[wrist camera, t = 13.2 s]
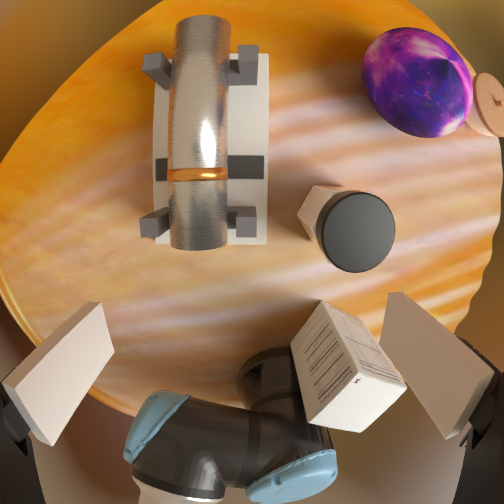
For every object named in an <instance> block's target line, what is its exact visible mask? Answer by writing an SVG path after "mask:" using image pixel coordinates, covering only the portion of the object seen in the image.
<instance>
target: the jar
mask: <svg viewBox="0 0 504 504" xmlns="http://www.w3.org/2000/svg"><path fill="white" fill-rule="evenodd" d="M297 216H298V218H299V220H300V222H301V224H302V225H303V227H304V229H305V231H306V233H307V235H308V236H309V238H310V240H311V242H312V243H313V244H314V246H315V247H316V248H317V249H318V250H319V252H320V253H321V254H322V255H323V257H324V258H325V259H326V260H327V262H328V263H329V264H333V265H334V266H336V267H337V268H339V269H341V270H343V271H346V272H351V273H360V272H365V271H368V270H370V269H372V268H374V267H376V266H377V265H378V264H380V263H381V262H382V261H383V260H384V259H385V257H386V256H387V255H388V253H389V251H390V250H391V247H392V245H393V242H394V237H395V222H394V218H393V215H392V212H391V210H390V209H389V207H388V206H387V204H386V203H385V202H384V201H383V200H382V199H380V198H379V197H377V196H375V195H373V193H372V192H368V191H364V190H359V189H354V188H349V187H342V186H313V187H312V189H311V190H310V192H309V194H308V196H307V197H306V199H305V201H304V202H303V204H302V206H301V208H300V209H299V211H298V213H297Z"/></svg>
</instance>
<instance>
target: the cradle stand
mask: <svg viewBox="0 0 504 504" xmlns="http://www.w3.org/2000/svg"><path fill="white" fill-rule="evenodd" d="M258 46H259V45H238V53H235V54H230V65H229V100H228V180H227V201H228V243H227V244H250V245H266V244H267V199H268V121H269V54H259V53H258ZM171 66H172V59H167V58H166V57H165V56H164V54H163V53H162V52H158V53H152V54H147V55H144V59H143V67H142V71H143V72H144V73H146V74H147V75H148V76H149V77H150V78H151V79H153V80H154V81H155V82H156V83H155V96H154V115H153V203H154V212H153V213H150V214H148V215H146V216H144V217H142V218H140V230H141V237H156V244H170V229H169V209H168V182H167V170H168V112H169V93H170V78H171Z"/></svg>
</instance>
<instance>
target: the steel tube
mask: <svg viewBox="0 0 504 504" xmlns="http://www.w3.org/2000/svg"><path fill="white" fill-rule="evenodd" d="M230 39H231V25H230V23H229V22H228V21H226V20H225V19H223V18H220V17H217V16H211V15H198V16H192V17H188V18H186V19H183V20H182V21H180V22H179V23H178V24H177V25H176V29H175V37H174V45H173V55H172V66H171V78H170V93H169V112H168V170H167V182H168V209H169V229H170V245H171V246H172V247H173V248H176V249H180V250H190V251H198V250H210V249H215V248H219V247H222V246H225V245H226V244H227V243H228V201H227V180H228V100H229V65H230Z"/></svg>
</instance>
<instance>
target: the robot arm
mask: <svg viewBox="0 0 504 504" xmlns="http://www.w3.org/2000/svg"><path fill="white" fill-rule="evenodd" d="M379 345H380V346H381V348H382V349H383V350H384V352H385V353H386V354H387V356H388V357H389V358H390V360H391V361H392V363H393V364H394V365H395V367H396V368H397V369H398V371H399V372H400V374H401V375H402V376H403V378H404V379H405V381H406V382H407V384H408V385H409V386H410V388H411V389H412V391H413V392H414V394H415V395H416V396H417V398H418V399H419V401H420V402H421V403H422V405H423V407H424V408H425V410H426V411H427V412H428V414H429V416H430V417H431V419H432V420H433V421H434V423H435V425H436V426H437V428H438V429H439V431H440V432H441V434H442V435H443V437H444V438H445V440H446V439H448V438H450V437H452V436H454V435H456V434H458V433H460V432H461V431H462V429H463V428H464V426H465V425H466V423H467V422H468V421H469V422H470V423H471V424H472V426H471V428H470V430H469V431H468V433H467V434H466V435H465V437H464V438H463V440H462V441H461V443H460V445H459V446H460V447H461V446H462V445H463V444H464V442H465V441H466V440H467V445H466V446H465V447H466V451H465V456H464V461H463V466H462V470H461V475H460V479H459V482H458V486H457V490H456V493H455V497H454V500H453V503H452V504H504V372H503V373H501V372H500V371H499V370H498V369H497V368H496V367H495V366H494V365H493V364H492V363H491V362H490V361H489V360H487V359H486V358H485V357H484V356H483V355H482V354H480V352H479V351H477V350H476V349H474V347H473V346H472V345H471V344H469V343H468V342H467V341H466V340H464V339H462V338H460V337H458V336H455V335H454V334H453V333H451V332H450V331H449V330H448V329H447V328H446V327H444V326H443V325H442V324H441V323H440V322H439V321H437V320H436V319H435V318H434V317H433V316H431V315H430V314H429V313H428V312H427V311H425V310H424V309H423V308H422V307H420V306H419V305H418V304H417V303H415V302H414V301H413V300H412V299H410V298H409V297H408V296H407V295H405V294H404V293H403V292H394V293H388V298H387V305H386V311H385V317H384V322H383V327H382V332H381V337H380V342H379ZM114 352H115V351H114V348H113V345H112V341H111V338H110V334H109V331H108V327H107V324H106V320H105V316H104V312H103V308H102V304H101V302H88V303H86V304H85V305H84V306H83V307H82V308H80V309H79V310H78V311H77V312H76V313H75V314H74V315H72V316H71V317H70V318H69V319H68V320H67V321H66V322H64V323H63V324H62V325H61V326H60V327H59V328H58V329H57V330H55V331H54V332H53V333H52V334H51V335H50V336H49V337H48V338H47V339H46V340H44V341H43V342H42V343H41V344H40V345H39V346H38V347H37V348H36V349H35V350H34V351H33V352H31V353H30V354H28V355H27V356H26V357H25V358H24V359H23V361H22V362H20V363H19V364H18V365H17V367H15V368H14V369H13V370H12V371H11V372H10V373H9V374H8V375H7V376H6V377H5V378H4V379H3V380H2V381H1V382H0V504H46V503H45V500H44V496H43V493H42V489H41V485H40V481H39V477H38V473H37V469H36V464H35V459H34V453H33V447H32V441H31V438H30V437H29V435H28V433H29V431H30V430H32V432H33V433H34V435H35V436H36V437H37V438H38V440H40V441H42V442H44V443H46V444H48V445H51V446H53V445H54V444H55V442H56V440H57V439H58V437H59V435H60V434H61V432H62V430H63V429H64V427H65V425H66V424H67V422H68V421H69V419H70V417H71V416H72V414H73V413H74V411H75V410H76V408H77V407H78V405H79V404H80V402H81V400H82V399H83V397H84V396H85V394H86V393H87V391H88V390H89V388H90V387H91V385H92V384H93V382H94V381H95V379H96V378H97V376H98V375H99V374H100V372H101V371H102V369H103V368H104V366H105V365H106V363H107V362H108V361H109V359H110V358H111V356H112V355H113V353H114ZM238 392H239V395H240V398H241V400H242V402H243V405H244V407H245V409H241V408H236V407H231V406H226V405H221V404H217V403H212V402H208V401H204V400H200V399H196V398H193V397H191V395H188V394H187V395H182V394H178V393H174V392H170V391H166V390H158V391H155V392H154V393H152V394H151V395H150V396H149V397H148V398H147V399H146V400H145V402H144V403H143V405H142V406H141V408H140V410H139V412H138V414H137V416H136V418H135V420H134V422H133V424H132V426H131V429H130V431H129V434H128V436H127V439H126V443H125V449H124V452H123V456H124V459H125V460H126V461H128V462H129V463H130V464H134V469H133V473H132V478H133V479H134V481H135V482H136V483H137V485H138V486H139V487H140V490H141V494H140V499H139V504H216V503H218V502H219V501H221V500H223V498H224V493H225V488H226V487H235V488H244V489H246V490H245V494H246V495H247V497H248V499H249V500H250V501H252V502H257V503H260V504H280V503H287V502H292V501H296V500H300V499H303V498H306V497H309V496H312V495H314V494H316V493H318V492H320V491H322V490H324V489H325V488H327V487H328V486H329V485H330V484H331V483H332V482H333V481H334V480H335V478H336V476H337V472H338V470H337V462H336V452H335V450H334V448H333V444H332V440H331V437H330V433H329V429H328V427H325V426H320V425H316V424H311V423H308V422H307V417H306V412H305V408H304V403H303V399H302V394H301V389H300V385H299V381H298V376H297V372H296V367H295V363H294V359H293V354H292V350H291V348H275V349H270V350H267V351H264V352H261V353H259V354H257V355H255V356H254V357H252V358H251V359H250V360H248V361H247V362H246V363H245V364H244V366H243V367H242V369H241V371H240V373H239V377H238Z"/></svg>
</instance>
